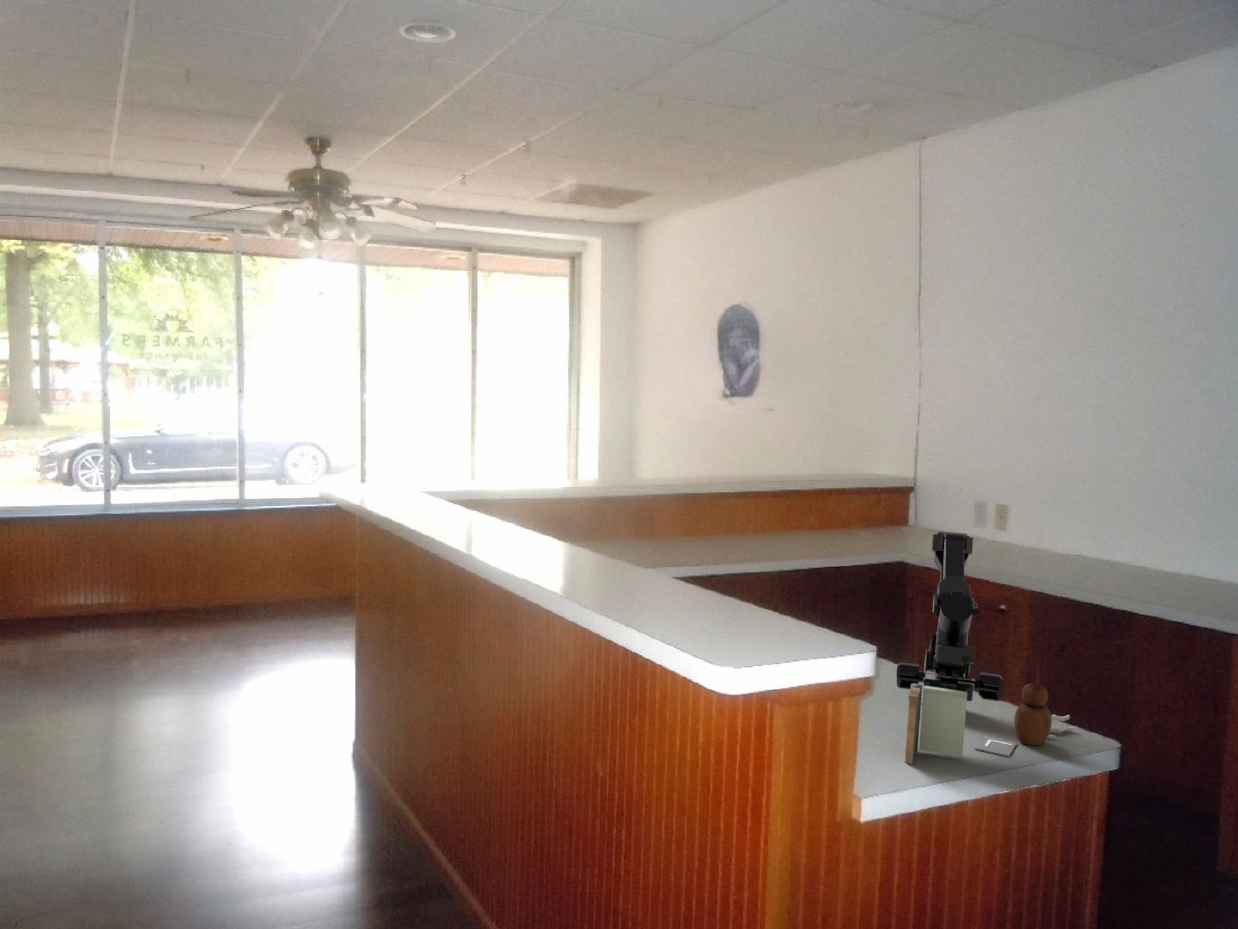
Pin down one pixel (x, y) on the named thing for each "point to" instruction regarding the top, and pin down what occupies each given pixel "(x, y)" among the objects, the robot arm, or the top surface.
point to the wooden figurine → (1033, 714)
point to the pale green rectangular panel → (943, 720)
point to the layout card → (996, 746)
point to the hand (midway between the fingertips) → (945, 723)
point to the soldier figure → (1058, 728)
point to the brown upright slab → (913, 722)
